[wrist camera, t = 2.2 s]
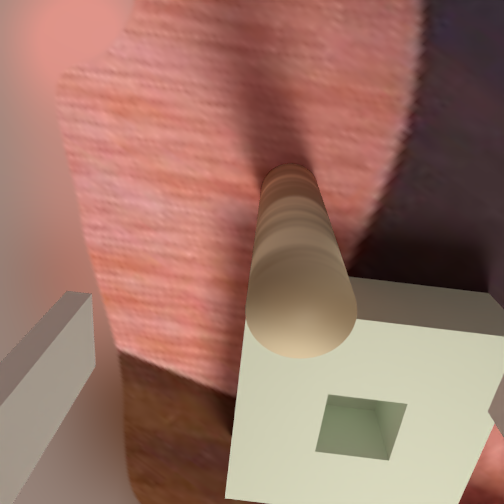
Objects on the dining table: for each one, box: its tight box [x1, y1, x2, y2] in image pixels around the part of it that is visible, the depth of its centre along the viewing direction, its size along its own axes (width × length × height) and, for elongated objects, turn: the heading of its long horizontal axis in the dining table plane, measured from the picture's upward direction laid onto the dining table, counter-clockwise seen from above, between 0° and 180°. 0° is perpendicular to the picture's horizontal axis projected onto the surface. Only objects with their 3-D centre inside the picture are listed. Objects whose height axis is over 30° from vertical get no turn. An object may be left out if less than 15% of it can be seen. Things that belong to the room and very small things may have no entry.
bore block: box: [225, 276, 504, 504], centre depth 33 cm, size 18×18×6 cm
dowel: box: [245, 164, 357, 359], centre depth 23 cm, size 4×4×16 cm
